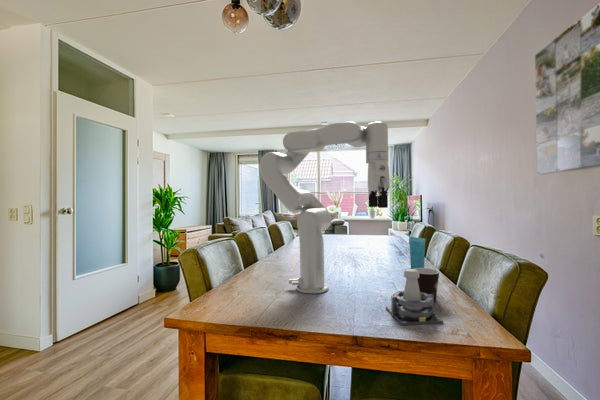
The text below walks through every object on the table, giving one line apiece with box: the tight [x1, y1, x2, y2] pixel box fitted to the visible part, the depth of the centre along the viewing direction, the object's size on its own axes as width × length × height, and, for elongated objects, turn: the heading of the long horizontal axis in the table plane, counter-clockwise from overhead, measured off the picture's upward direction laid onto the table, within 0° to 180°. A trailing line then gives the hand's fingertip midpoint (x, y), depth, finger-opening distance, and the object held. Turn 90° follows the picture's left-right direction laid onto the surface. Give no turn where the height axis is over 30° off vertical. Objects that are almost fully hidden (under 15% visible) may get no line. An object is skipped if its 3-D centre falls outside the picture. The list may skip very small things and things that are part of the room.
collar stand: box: [385, 290, 444, 326], centre depth 86 cm, size 13×12×6 cm
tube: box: [408, 236, 427, 269], centre depth 116 cm, size 7×5×19 cm, turn 39°
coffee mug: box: [414, 267, 440, 303], centre depth 100 cm, size 12×9×10 cm
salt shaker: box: [402, 268, 423, 312], centre depth 86 cm, size 6×6×13 cm
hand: (377, 207), depth 101 cm, fingers open, 9 cm apart
